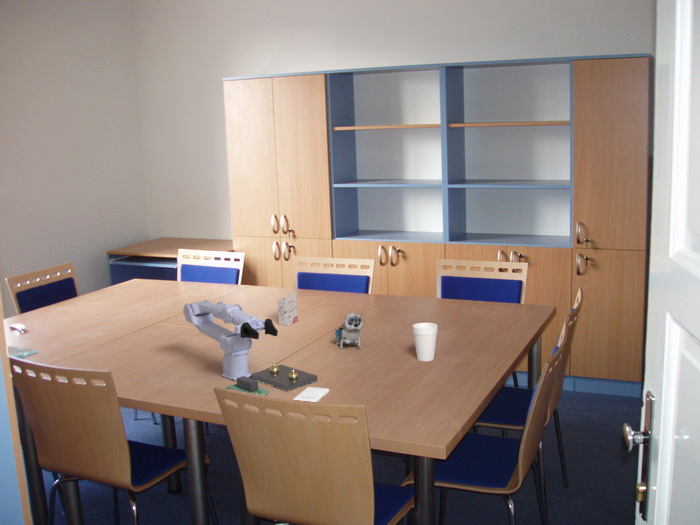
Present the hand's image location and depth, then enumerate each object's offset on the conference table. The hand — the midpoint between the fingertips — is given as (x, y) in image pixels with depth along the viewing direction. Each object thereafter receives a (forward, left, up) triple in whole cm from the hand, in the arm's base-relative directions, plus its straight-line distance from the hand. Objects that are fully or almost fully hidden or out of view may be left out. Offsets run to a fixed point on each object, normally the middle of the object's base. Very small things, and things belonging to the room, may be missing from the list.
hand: (267, 334), depth 252 cm
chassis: (-4, +9, -19) cm, 22 cm away
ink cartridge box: (-65, +62, -20) cm, 92 cm away
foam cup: (+19, +60, -20) cm, 66 cm away
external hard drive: (+16, +4, -20) cm, 26 cm away
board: (-4, -7, -19) cm, 21 cm away
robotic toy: (-15, +54, -20) cm, 60 cm away
